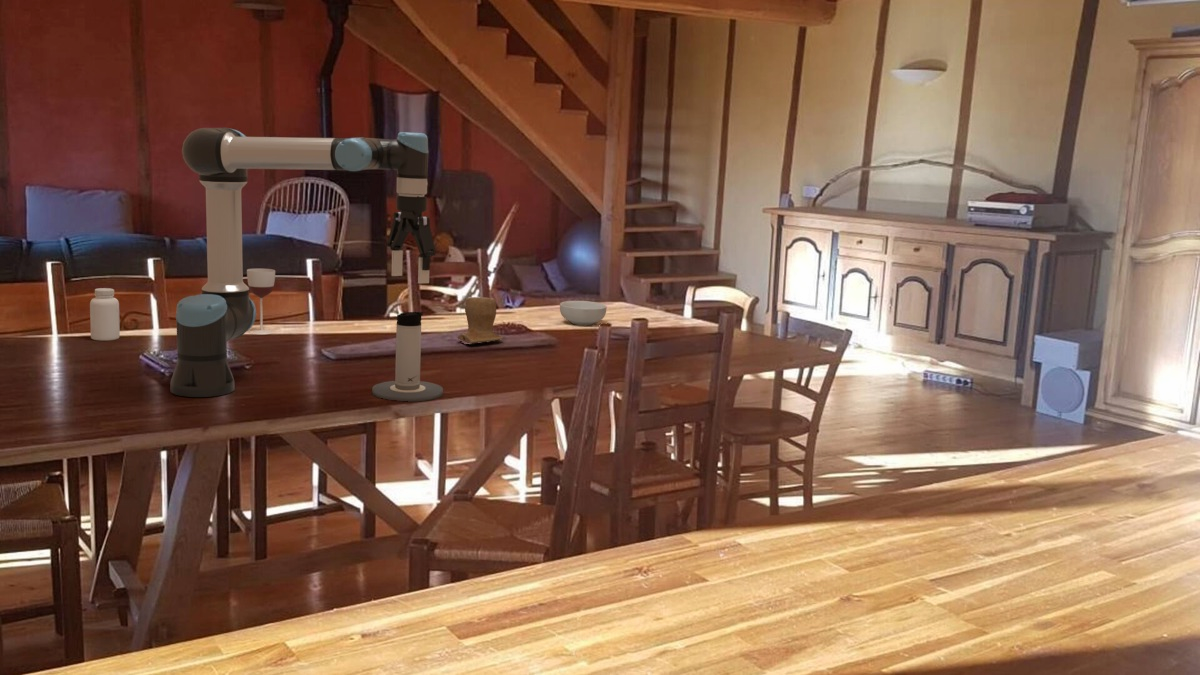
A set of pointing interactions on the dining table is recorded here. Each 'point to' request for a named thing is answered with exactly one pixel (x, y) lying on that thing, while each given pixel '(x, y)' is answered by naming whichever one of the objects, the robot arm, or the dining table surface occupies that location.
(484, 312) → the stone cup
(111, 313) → the pill bottle
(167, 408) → the dining table surface
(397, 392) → the grey flat disc
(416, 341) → the travel mug
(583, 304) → the cereal bowl
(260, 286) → the wineglass
